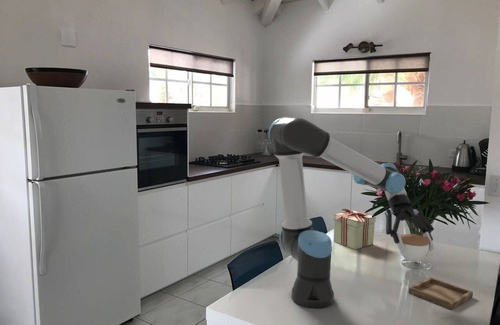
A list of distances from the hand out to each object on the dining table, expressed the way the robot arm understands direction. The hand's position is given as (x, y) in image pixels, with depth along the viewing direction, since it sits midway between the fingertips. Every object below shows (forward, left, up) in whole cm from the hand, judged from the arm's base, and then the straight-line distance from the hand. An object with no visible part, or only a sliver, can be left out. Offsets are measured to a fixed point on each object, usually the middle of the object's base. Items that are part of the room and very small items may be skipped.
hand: (417, 250), depth 144 cm
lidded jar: (+1, +2, -4) cm, 5 cm away
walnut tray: (+10, -5, -18) cm, 21 cm away
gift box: (+31, +51, -18) cm, 63 cm away
